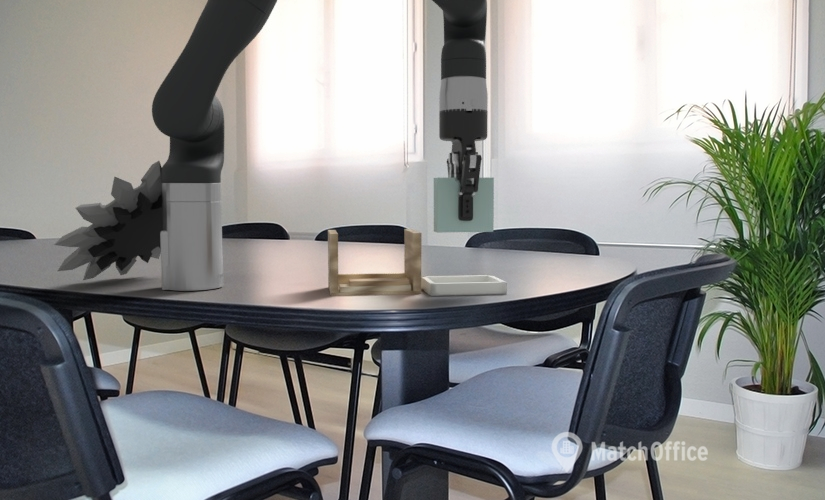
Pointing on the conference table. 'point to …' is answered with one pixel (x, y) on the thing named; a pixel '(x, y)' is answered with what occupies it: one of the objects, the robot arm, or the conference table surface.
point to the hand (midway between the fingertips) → (463, 219)
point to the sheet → (448, 207)
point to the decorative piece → (119, 227)
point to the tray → (463, 285)
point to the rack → (410, 272)
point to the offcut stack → (376, 285)
